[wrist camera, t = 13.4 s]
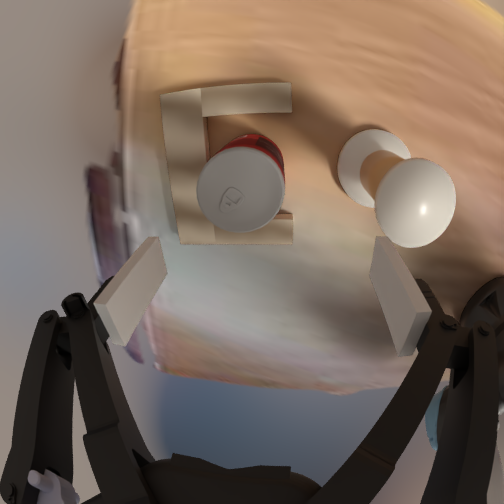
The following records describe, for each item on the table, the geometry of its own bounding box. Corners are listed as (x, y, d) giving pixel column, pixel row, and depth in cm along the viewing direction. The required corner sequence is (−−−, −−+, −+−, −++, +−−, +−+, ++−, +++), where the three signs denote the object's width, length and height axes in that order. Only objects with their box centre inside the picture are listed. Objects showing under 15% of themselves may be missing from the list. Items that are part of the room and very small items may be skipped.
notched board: (292, 237, 37) (292, 244, 36) (184, 238, 39) (180, 244, 37) (290, 83, 27) (291, 82, 26) (165, 94, 29) (159, 94, 27)
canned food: (211, 181, 34) (184, 215, 25) (234, 123, 30) (213, 133, 21) (267, 204, 35) (261, 246, 26) (294, 148, 31) (300, 169, 22)
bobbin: (404, 206, 33) (449, 257, 22) (335, 203, 34) (359, 257, 23) (412, 133, 28) (471, 157, 17) (338, 125, 29) (371, 141, 18)
